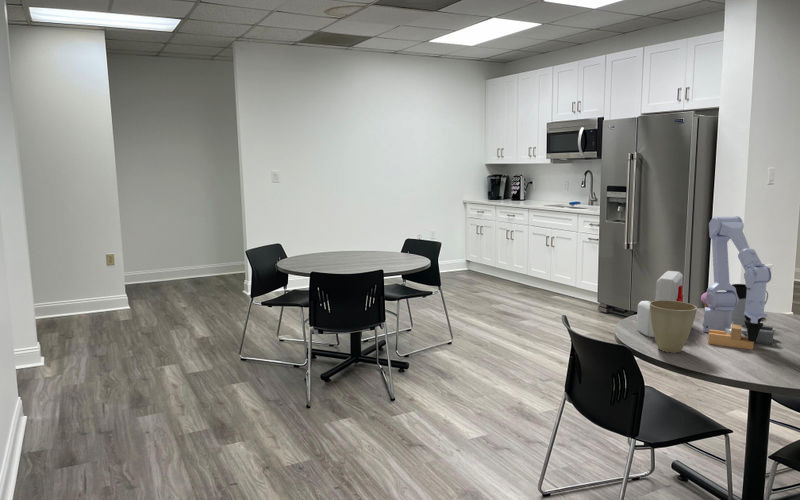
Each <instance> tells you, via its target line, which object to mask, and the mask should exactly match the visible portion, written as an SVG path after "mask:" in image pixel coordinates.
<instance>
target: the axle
mask: <svg viewBox="0 0 800 500" xmlns="http://www.w3.org/2000/svg"><path fill="white" fill-rule="evenodd" d="M731 329H732V328H731ZM731 329H727V328H725V335H731ZM741 339H747V340H748V332H747V330H744V329H741ZM756 341H757V340H756Z"/></svg>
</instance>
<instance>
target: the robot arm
mask: <svg viewBox="0 0 800 500" xmlns="http://www.w3.org/2000/svg"><path fill="white" fill-rule="evenodd" d="M708 228H709V229H708V232H709V233H708V234H709V238H710V239H711V251H712V267H713V269H712V272H713V283H712V284H711V285H709V287H708V288H707V289H706V292H707V296H706V303H707V305H708V306H709V308H707V307H705V312H704V311H703V322H702V327H703V328H702V332H703V333H709V330H718V331H725V328H727V329H732V323H731V317H732V310H734V308H735V307H736V306H737V304H738V296H737V293H736V288H735V287H734V286H732V284H731V283H730V271H729V269H730V268H729V267H730V266H729V265H730V264H729V253H728V252H729V251H728V247H729V246H728V242H729V241H731V242H732V243H733V245H734V246H735V248H736V249H737V250H738V252H739V253H737V258H738V260H739V262H740V264H741V266H742V268H743V269H744V273H743V279H744V281H745V285H746V287H747V293H746V305H745V312H744V315H745V318H746V320H745V321H744V323H745V325H744V326H746V331H747V332H748V340H749V341H751V342H756V340H757V337H758V333H759V331H760V329H761V327H762V326H763V325H764V323H763V322H762V320H763V318H767V317H768V316H769V315H768V313H765V306H766V304H765V301H766V296H767V293H766V291H767V284H768V283H769V282H770V281H771V280H772V271H771V268H770V267H769V266H767V265H765V263H762V261H761V258H760V257H759V256H758V254H757V252H756V250H755V249H753V248H750V245H749V244H748V240H747V238H746V236H745V233H744V228H745V224H744V221H743V220H742V218H741V216H737V215H735V216H717V215H716V216H713V217H712V218H711V219H710V221H709V223H708Z"/></svg>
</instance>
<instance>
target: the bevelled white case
mask: <svg viewBox="0 0 800 500" xmlns="http://www.w3.org/2000/svg"><path fill="white" fill-rule="evenodd" d="M683 276H684V274H683V273H681V271H676V270H675V271H674V270H667V271H665V273H663V274H662V275H661V276H660V277H659V278H658V279H657V280H656V283H655V295H654V296H655V299H654V301H656V300H670V301H679V302H684V301H683V300H684V295H683V287H684V286H683Z"/></svg>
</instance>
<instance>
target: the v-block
mask: <svg viewBox="0 0 800 500" xmlns="http://www.w3.org/2000/svg"><path fill="white" fill-rule="evenodd" d="M773 329H774V328H773V326H772V325H765V324H763V326H762V327H761V329H760V331H759V333H758V337H757V341H756V342H754V344H763V345H768V346H769V345H770V346H773V344H774V343H773V342H774V330H773Z"/></svg>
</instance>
